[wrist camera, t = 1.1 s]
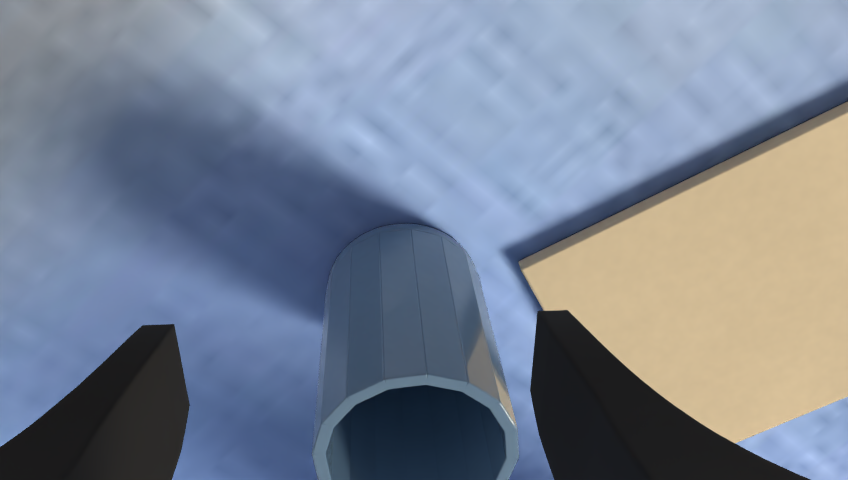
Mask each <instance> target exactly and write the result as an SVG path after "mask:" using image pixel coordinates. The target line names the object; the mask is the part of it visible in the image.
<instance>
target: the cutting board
mask: <svg viewBox="0 0 848 480" xmlns="http://www.w3.org/2000/svg"><path fill="white" fill-rule="evenodd" d="M519 266H520V269H521V271H522V273H523V275H524V276H525V278H526V280H527V282H528V284H529V285H530V287H531V289H532V291H533V293H534V294H535V296H536V298H537V300H538V301H539V303H540V305H541V307H542V309H543V310H544V311H555V310H568V311H569V312H570V313H571V314H572V315H573V316H574V317H575V318H576V319H577V320H578V321H579V322H580V323H581V324H582V325H583V326H584V327H585V328H586V329H587V330H588V331H589V332H590V333H591V334H592V335H593V336H594V337H595V338H596V339H597V340H598V341H599V342H600V343H601V344H602V345H603V346H605V347H606V348H607V349H608V350H609V351H610V352H611V353H612V354H613V355H614V356H615V357H616V358H617V359H618V360H619V361H620V362H622V363H623V364H624V365H625V366H626V367H627V368H628V369H629V370H631V371H632V372H633V373H634V374H635V375H636V376H638V377H639V378H640V379H641V380H642V381H644V382H645V383H646V384H647V385H649V386H650V387H651V388H652V389H653V390H655V391H656V392H657V393H658V394H660V395H661V396H662V397H664V398H665V399H666V400H668V401H669V402H670V403H672V404H673V405H674V406H676V407H677V408H679V409H680V410H682V411H683V412H685V413H686V414H688V415H689V416H691V417H692V418H694V419H695V420H696V421H698V422H699V423H701V424H703V425H704V426H706V427H707V428H709V429H711V430H712V431H714V432H716V433H717V434H719V435H721V436H723V437H724V438H726V439H728V440H730V441H731V442H733V443H737V442H739V441H742V440H744V439H746V438H749V437H751V436H754V435H756V434H758V433H761V432H763V431H766V430H768V429H770V428H773V427H775V426H778V425H780V424H782V423H785V422H787V421H790V420H792V419H794V418H797V417H799V416H802V415H804V414H807V413H809V412H811V411H814V410H816V409H819V408H821V407H823V406H826V405H828V404H831V403H833V402H835V401H838V400H840V399H843V398H845V397H847V396H848V101H847V102H845V103H843V104H841V105H839V106H837V107H835V108H833V109H831V110H829V111H827V112H825V113H823V114H821V115H819V116H817V117H815V118H812V119H810V120H808V121H806V122H804V123H802V124H800V125H798V126H796V127H794V128H792V129H790V130H788V131H786V132H784V133H782V134H780V135H778V136H775V137H773V138H771V139H769V140H767V141H765V142H763V143H761V144H759V145H757V146H755V147H753V148H751V149H749V150H747V151H745V152H743V153H740V154H738V155H736V156H734V157H732V158H730V159H728V160H726V161H724V162H722V163H720V164H718V165H716V166H714V167H712V168H710V169H708V170H705V171H703V172H701V173H699V174H697V175H695V176H693V177H691V178H689V179H687V180H685V181H683V182H681V183H679V184H677V185H675V186H673V187H670V188H668V189H666V190H664V191H662V192H660V193H658V194H656V195H654V196H652V197H650V198H648V199H646V200H644V201H642V202H640V203H638V204H636V205H633V206H631V207H629V208H627V209H625V210H623V211H621V212H619V213H617V214H615V215H613V216H611V217H609V218H607V219H605V220H603V221H601V222H598V223H596V224H594V225H592V226H590V227H588V228H586V229H584V230H582V231H580V232H578V233H576V234H574V235H572V236H570V237H568V238H566V239H563V240H561V241H559V242H557V243H555V244H553V245H551V246H549V247H547V248H545V249H543V250H541V251H539V252H537V253H535V254H533V255H531V256H528V257H526V258H524V259H522V260H520V261H519Z"/></svg>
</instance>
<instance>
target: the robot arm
mask: <svg viewBox="0 0 848 480" xmlns="http://www.w3.org/2000/svg"><path fill="white" fill-rule="evenodd" d="M530 391H531V397H532V402H533V407H534V412H535V417H536V422H537V427H538V432H539V436H540V439H541V442H542V445H543V448H544V451H545V454H546V457H547V460H548V463H549V466H550V469H551V472H552V474H553V477H554V480H810V479H808V478H805V477H803V476H800V475H798V474H796V473H793V472H791V471H789V470H787V469H785V468H783V467H780V466H778V465H776V464H774V463H772V462H770V461H767V460H765V459H763V458H761V457H759V456H757V455H755V454H754V453H752V452H750V451H748V450H746V449H744V448H742V447H740V446H738V445H737V444H735V443H733V442H731V441H730V440H728V439H726V438H724V437H723V436H721V435H719V434H717V433H716V432H714V431H712V430H711V429H709V428H707V427H706V426H704V425H703V424H701V423H699V422H698V421H696V420H695V419H694V418H692V417H691V416H689V415H688V414H686V413H685V412H683V411H682V410H680V409H679V408H677V407H676V406H674V405H673V404H672V403H670V402H669V401H668V400H666V399H665V398H664V397H662V396H661V395H660V394H658V393H657V392H656V391H655V390H653V389H652V388H651V387H650V386H649V385H647V384H646V383H645V382H644V381H642V380H641V379H640V378H639V377H638V376H636V375H635V374H634V373H633V372H632V371H631V370H629V369H628V368H627V367H626V366H625V365H624V364H623V363H622V362H620V361H619V360H618V359H617V358H616V357H615V356H614V355H613V354H612V353H611V352H610V351H609V350H608V349H607V348H606V347H605V346H603V345H602V344H601V343H600V342H599V341H598V340H597V339H596V338H595V337H594V336H593V335H592V334H591V333H590V332H589V331H588V330H587V329H586V328H585V327H584V326H583V325H582V324H581V323H580V322H579V321H578V320H577V319H576V318H575V317H574V316H573V315H572V314H571V313H570V312H569V311H568V310H555V311H538V313H537V324H536V335H535V346H534V356H533V367H532V378H531V389H530ZM189 406H190V404H189V399H188V394H187V389H186V383H185V378H184V373H183V368H182V363H181V357H180V352H179V347H178V342H177V336H176V331H175V326H174V324H167V325H142V326H141V327H140V328H139V329H138V330H137V331H136V332H135V333H134V334H133V335H131V336H130V337H129V338H128V339H127V340H126V341H125V342H124V343H123V344H122V345H121V346H120V347H119V348H118V349H117V350H116V351H115V352H114V353H113V354H112V355H111V356H110V357H109V358H108V359H106V360H105V361H104V362H103V363H102V364H101V365H100V366H99V367H98V368H97V369H96V370H95V371H94V372H93V373H91V374H90V375H89V376H88V377H87V378H86V379H85V380H84V381H83V382H82V383H81V384H80V385H78V386H77V387H76V388H75V389H74V390H73V391H71V392H70V393H69V394H68V395H67V396H65V397H64V398H63V399H62V400H61V401H60V402H58V403H57V404H56V405H55V406H54V407H52V408H51V409H50V410H49V411H48V412H46V413H45V414H44V415H43V416H42V417H40V418H39V419H38V420H37V421H35V422H34V423H33V424H32V425H30V426H29V427H28V428H26V429H25V430H24V431H22V432H21V433H20V434H18V435H17V436H15V437H14V438H13V439H11V440H10V441H8V442H7V443H5V444H4V445H3V446H1V447H0V480H172V477H173V474H174V471H175V468H176V465H177V462H178V459H179V456H180V453H181V449H182V444H183V439H184V434H185V429H186V423H187V418H188V412H189Z"/></svg>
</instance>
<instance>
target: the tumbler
mask: <svg viewBox="0 0 848 480" xmlns="http://www.w3.org/2000/svg"><path fill="white" fill-rule="evenodd" d="M312 457H313V461H314V465H315V469H316V474H317V478H318V480H509V478H510V475H511V473H512V471H513V469H514V467H515V465H516V463H517V461H518V458H519V447H518V428H517V424H516V421H515V417H514V413H513V409H512V405H511V401H510V397H509V393H508V389H507V385H506V381H505V377H504V373H503V369H502V365H501V361H500V357H499V353H498V350H497V346H496V342H495V338H494V334H493V330H492V326H491V322H490V318H489V314H488V310H487V306H486V302H485V298H484V294H483V290H482V286H481V282H480V278H479V275H478V273H477V272H476V269H475V266H474V263H473V261H472V259H471V257H470V256H469V255H468V253H467V252H466V250H465V249H464V248H463V247H462V246H461V245H460V244H459V243H458V242H457V241H455V240H454V239H453V238H452V237H450V236H448V235H447V234H445V233H443V232H441V231H439V230H436V229H434V228H431V227H427V226H423V225H418V224H392V225H387V226H383V227H379V228H376V229H373V230H371V231H369V232H366V233H364V234H363V235H361V236H359V237H358V238H356V239H355V240H354V241H352V242H351V243H350V244H349V245H348V246H347V247H346V248H345V249H344V250H343V251H342V252H341V253H340V255H339V256H338V257H337V259H336V261H335V262H334V264H333V266H332V269H331V272H330V274H329V279H328V286H327V290H326V294H325V306H324V318H323V329H322V341H321V353H320V364H319V376H318V388H317V399H316V411H315V423H314V434H313V446H312Z"/></svg>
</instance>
